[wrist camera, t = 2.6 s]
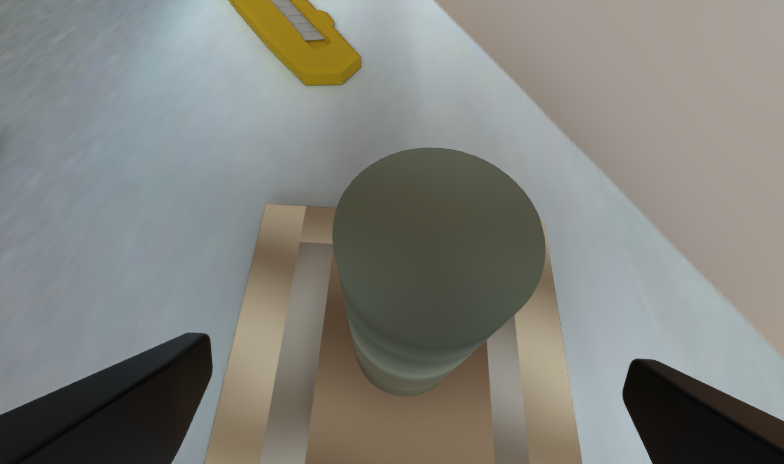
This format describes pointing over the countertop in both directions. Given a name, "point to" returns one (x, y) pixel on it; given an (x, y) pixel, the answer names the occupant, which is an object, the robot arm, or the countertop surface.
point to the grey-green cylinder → (420, 309)
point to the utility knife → (301, 39)
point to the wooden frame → (302, 347)
